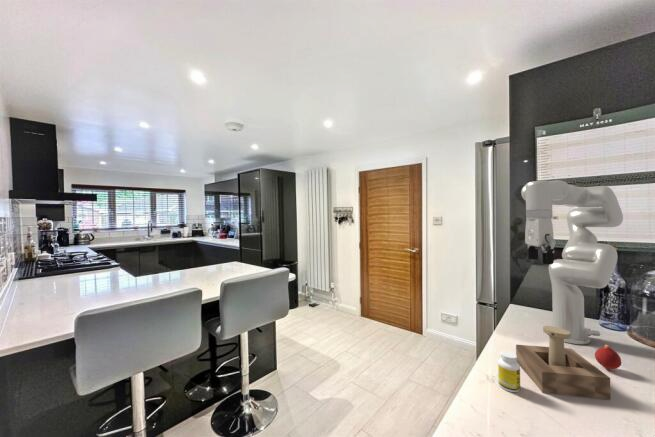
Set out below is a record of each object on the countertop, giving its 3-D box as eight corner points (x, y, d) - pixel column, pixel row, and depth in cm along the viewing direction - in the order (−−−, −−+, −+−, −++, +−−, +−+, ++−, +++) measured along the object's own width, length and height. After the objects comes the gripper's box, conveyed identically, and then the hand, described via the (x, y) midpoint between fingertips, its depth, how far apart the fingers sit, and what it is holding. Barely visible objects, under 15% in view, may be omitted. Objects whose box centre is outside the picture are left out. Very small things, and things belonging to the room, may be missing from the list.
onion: (613, 366, 87) (613, 342, 87) (626, 376, 81) (626, 350, 81) (591, 363, 89) (590, 339, 89) (602, 373, 83) (601, 348, 83)
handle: (567, 386, 78) (566, 335, 78) (541, 375, 83) (540, 328, 83) (574, 380, 80) (573, 331, 80) (548, 370, 86) (547, 324, 85)
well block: (571, 366, 87) (570, 348, 87) (610, 399, 72) (610, 377, 72) (516, 361, 91) (516, 344, 91) (542, 392, 75) (541, 371, 75)
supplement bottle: (521, 395, 75) (520, 361, 74) (498, 389, 77) (497, 356, 77) (519, 384, 79) (518, 352, 79) (498, 379, 82) (497, 348, 82)
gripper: (516, 215, 106) (517, 257, 106) (540, 215, 89) (541, 266, 89) (537, 214, 104) (538, 257, 104) (566, 214, 87) (567, 266, 87)
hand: (540, 261), depth 97 cm, fingers open, 9 cm apart
